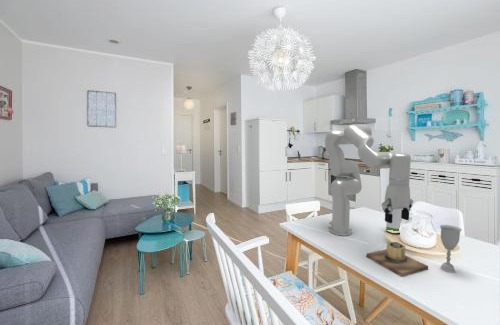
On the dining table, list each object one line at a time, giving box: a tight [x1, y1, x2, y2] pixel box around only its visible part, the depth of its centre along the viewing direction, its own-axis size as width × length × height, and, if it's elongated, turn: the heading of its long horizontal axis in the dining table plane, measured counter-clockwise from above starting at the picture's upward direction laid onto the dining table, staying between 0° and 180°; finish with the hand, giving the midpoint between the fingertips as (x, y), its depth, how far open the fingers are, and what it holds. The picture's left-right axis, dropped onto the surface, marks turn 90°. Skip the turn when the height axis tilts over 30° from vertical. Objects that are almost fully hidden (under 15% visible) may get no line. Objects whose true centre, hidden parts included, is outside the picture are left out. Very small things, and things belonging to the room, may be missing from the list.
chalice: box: [439, 224, 463, 274], centre depth 101 cm, size 7×7×18 cm
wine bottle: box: [385, 208, 403, 231], centre depth 141 cm, size 8×8×30 cm
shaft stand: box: [365, 241, 429, 277], centre depth 108 cm, size 18×15×9 cm
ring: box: [386, 241, 406, 260], centre depth 108 cm, size 7×7×5 cm
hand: (396, 220), depth 107 cm, fingers open, 9 cm apart
